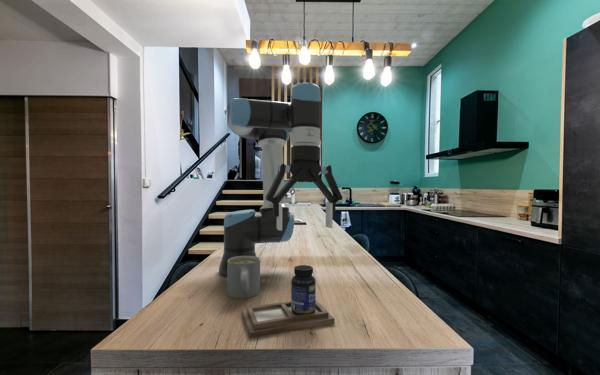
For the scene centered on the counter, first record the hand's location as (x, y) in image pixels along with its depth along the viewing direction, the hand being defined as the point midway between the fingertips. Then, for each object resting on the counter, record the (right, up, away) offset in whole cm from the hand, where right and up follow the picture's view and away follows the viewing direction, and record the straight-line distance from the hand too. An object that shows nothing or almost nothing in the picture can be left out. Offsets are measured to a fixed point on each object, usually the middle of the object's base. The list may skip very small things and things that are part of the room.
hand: (304, 228), depth 73 cm
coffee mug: (-19, -22, +13) cm, 31 cm away
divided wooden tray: (-4, -22, -3) cm, 22 cm away
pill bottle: (0, -21, -2) cm, 21 cm away
